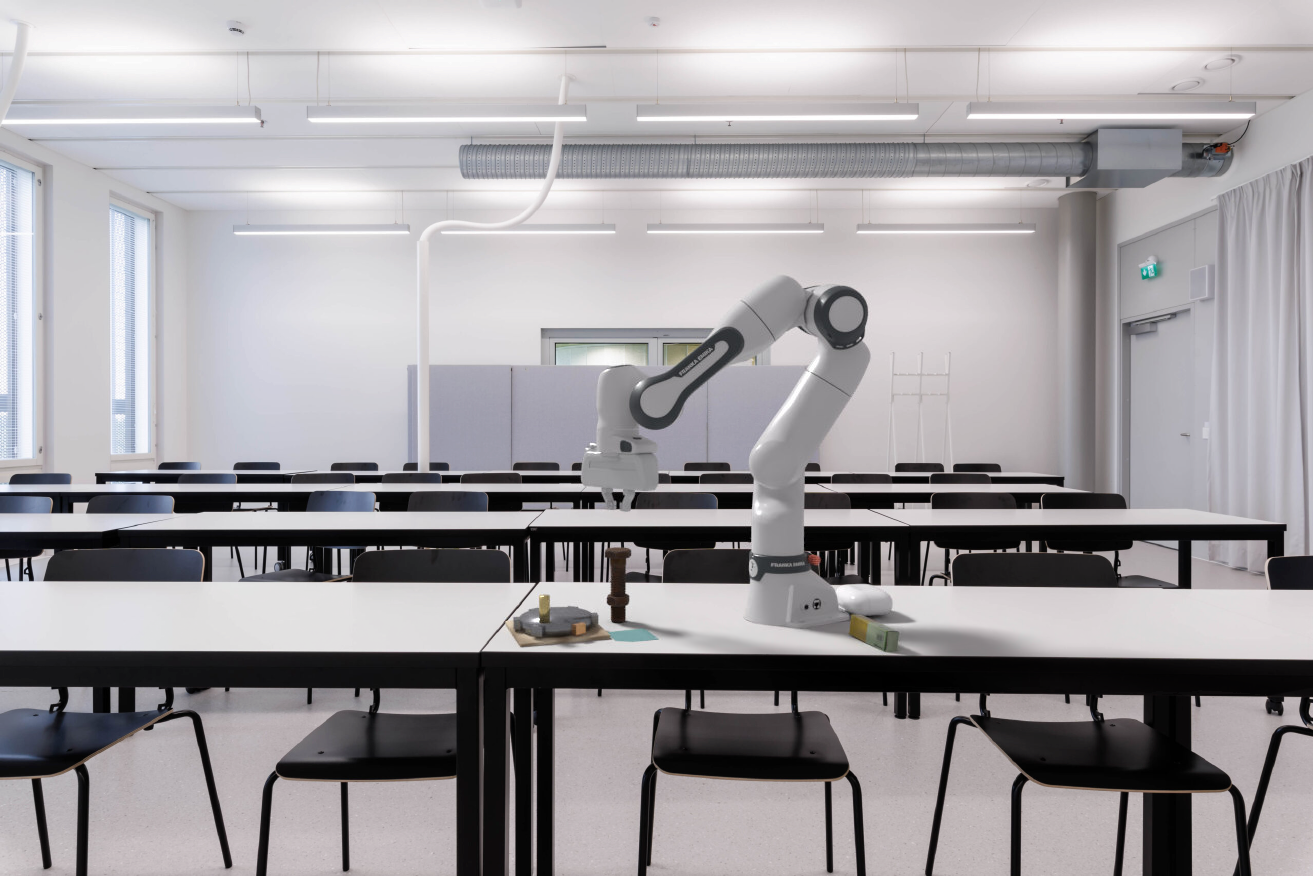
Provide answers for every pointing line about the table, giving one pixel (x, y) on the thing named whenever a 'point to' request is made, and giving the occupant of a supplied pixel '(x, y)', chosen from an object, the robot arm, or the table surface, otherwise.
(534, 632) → the sprocket
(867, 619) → the medication box
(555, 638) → the sprocket base
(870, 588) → the earbud case
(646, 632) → the pad
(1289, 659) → the table surface
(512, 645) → the table surface
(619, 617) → the bolt
